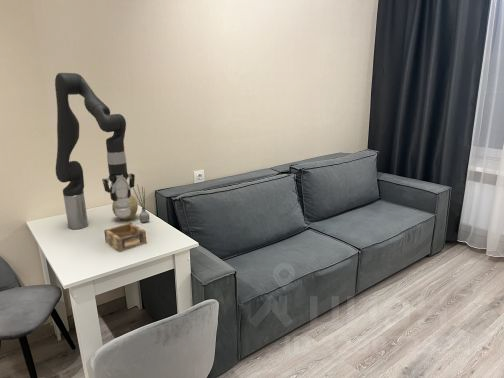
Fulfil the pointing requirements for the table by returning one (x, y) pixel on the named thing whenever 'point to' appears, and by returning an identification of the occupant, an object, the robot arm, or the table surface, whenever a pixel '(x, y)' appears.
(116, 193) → the metal bottle
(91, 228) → the table surface
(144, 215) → the reed diffuser
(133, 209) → the fossilized egg
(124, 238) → the caddy
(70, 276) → the table surface
